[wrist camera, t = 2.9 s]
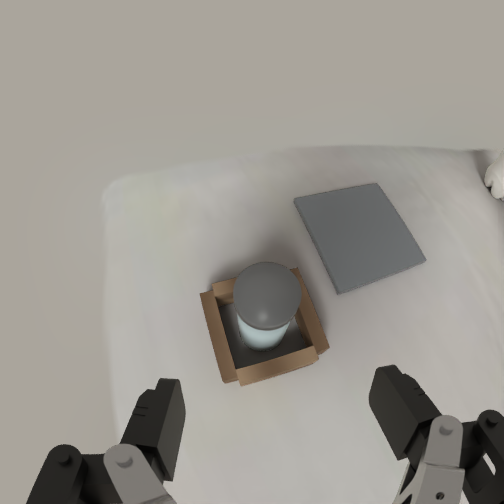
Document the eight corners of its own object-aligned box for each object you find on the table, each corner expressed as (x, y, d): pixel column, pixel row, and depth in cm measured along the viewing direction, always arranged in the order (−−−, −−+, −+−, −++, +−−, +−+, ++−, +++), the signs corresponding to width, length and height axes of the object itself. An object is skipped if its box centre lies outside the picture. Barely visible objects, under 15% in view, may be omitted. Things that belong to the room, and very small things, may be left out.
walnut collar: (291, 274, 27) (295, 261, 25) (324, 359, 23) (332, 353, 21) (202, 298, 26) (198, 287, 24) (227, 389, 22) (224, 388, 20)
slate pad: (375, 186, 34) (377, 183, 34) (423, 262, 28) (426, 259, 28) (293, 202, 32) (294, 198, 32) (337, 294, 26) (339, 292, 26)
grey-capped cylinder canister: (276, 302, 26) (287, 255, 19) (291, 344, 24) (311, 312, 17) (232, 314, 25) (225, 271, 18) (245, 358, 23) (244, 333, 16)
